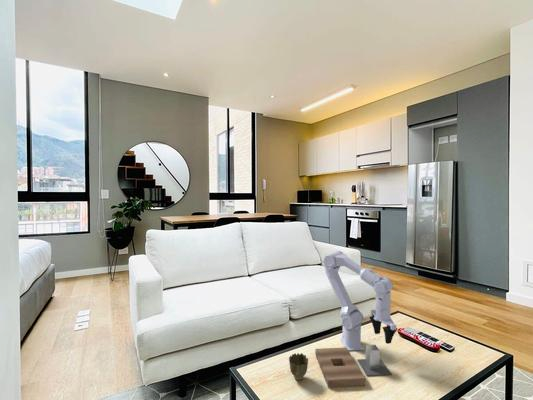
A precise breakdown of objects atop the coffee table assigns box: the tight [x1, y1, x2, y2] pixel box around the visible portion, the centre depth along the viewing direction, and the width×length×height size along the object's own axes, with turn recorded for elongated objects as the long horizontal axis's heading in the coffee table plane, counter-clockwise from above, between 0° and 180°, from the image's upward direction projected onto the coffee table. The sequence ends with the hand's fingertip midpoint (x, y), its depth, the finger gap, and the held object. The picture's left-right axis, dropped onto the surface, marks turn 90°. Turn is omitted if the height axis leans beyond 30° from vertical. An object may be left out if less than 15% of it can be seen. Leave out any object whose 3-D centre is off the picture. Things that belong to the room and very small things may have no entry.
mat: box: [357, 358, 393, 377], centre depth 116 cm, size 10×10×1 cm
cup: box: [288, 352, 309, 381], centre depth 110 cm, size 8×7×8 cm
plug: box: [365, 344, 381, 370], centre depth 116 cm, size 4×4×8 cm
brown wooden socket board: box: [314, 346, 366, 389], centre depth 115 cm, size 20×14×3 cm
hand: (382, 338), depth 121 cm, fingers open, 7 cm apart
